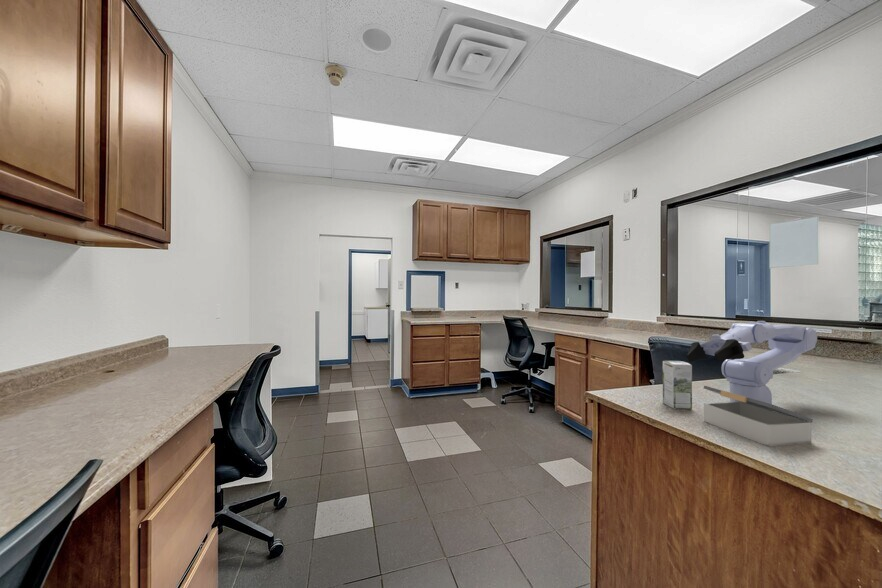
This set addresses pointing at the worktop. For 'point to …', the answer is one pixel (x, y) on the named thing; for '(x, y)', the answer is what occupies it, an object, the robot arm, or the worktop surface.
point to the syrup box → (677, 384)
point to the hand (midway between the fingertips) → (702, 357)
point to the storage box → (758, 423)
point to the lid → (758, 403)
